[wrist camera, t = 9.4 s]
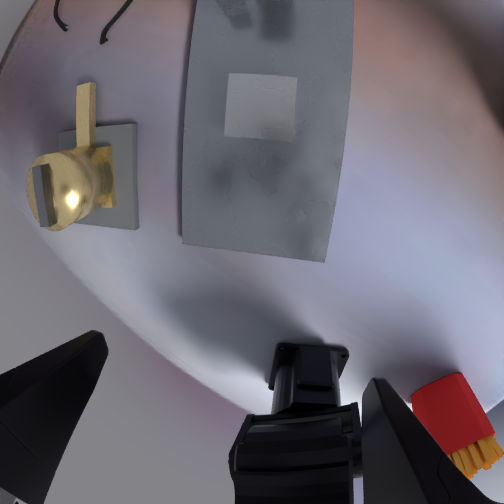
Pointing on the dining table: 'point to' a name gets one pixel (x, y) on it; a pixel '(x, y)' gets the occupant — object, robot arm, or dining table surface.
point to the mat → (124, 174)
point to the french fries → (457, 423)
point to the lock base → (267, 169)
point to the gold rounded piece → (73, 173)
